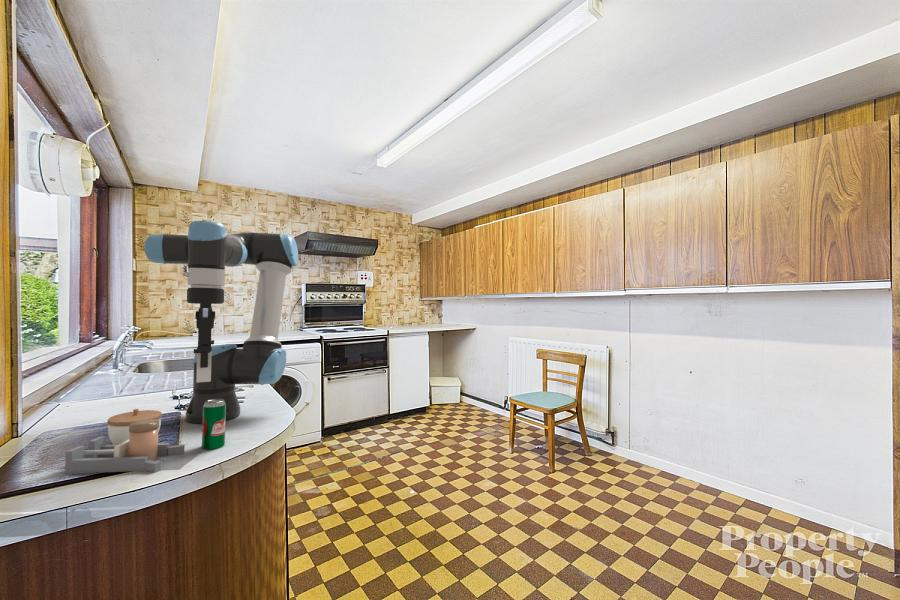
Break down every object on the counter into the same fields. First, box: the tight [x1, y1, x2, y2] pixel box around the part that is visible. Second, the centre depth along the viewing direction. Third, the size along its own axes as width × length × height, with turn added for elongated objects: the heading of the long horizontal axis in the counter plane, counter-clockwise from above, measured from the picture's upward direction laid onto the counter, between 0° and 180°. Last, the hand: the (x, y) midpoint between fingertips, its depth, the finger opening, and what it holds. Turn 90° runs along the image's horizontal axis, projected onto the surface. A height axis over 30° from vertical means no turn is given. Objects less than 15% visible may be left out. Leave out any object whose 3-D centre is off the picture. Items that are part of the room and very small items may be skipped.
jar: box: [129, 419, 160, 461], centre depth 87 cm, size 5×5×9 cm
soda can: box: [201, 399, 227, 451], centre depth 98 cm, size 5×5×12 cm
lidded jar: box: [107, 408, 163, 445], centre depth 98 cm, size 11×11×9 cm
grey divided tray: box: [64, 435, 201, 475], centre depth 87 cm, size 12×22×5 cm, turn 99°
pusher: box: [84, 440, 129, 457], centre depth 86 cm, size 6×11×4 cm, turn 99°
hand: (204, 376), depth 91 cm, fingers open, 13 cm apart
